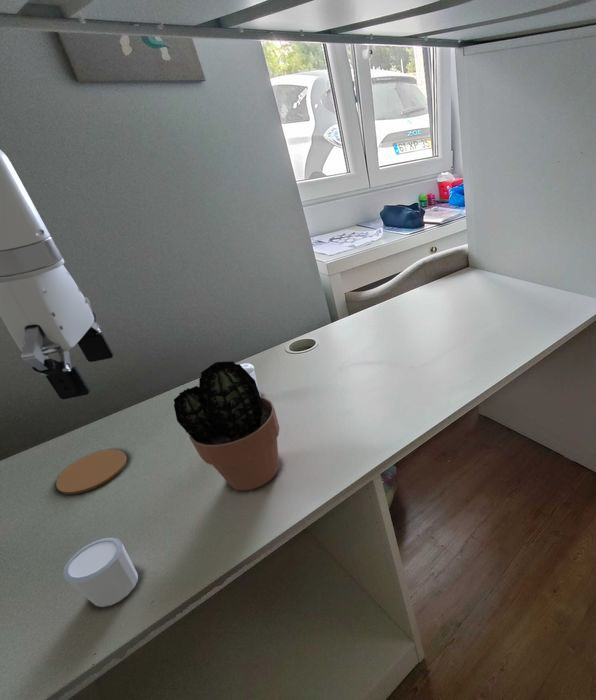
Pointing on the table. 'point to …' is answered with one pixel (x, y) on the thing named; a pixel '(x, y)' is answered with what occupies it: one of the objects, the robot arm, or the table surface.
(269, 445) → the potted plant
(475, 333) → the table surface
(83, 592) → the white cylinder
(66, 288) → the robot arm
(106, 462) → the coaster
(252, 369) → the milkshake
